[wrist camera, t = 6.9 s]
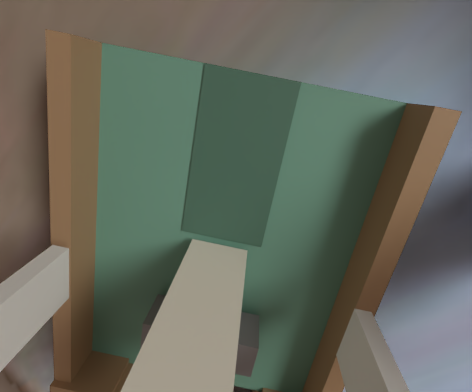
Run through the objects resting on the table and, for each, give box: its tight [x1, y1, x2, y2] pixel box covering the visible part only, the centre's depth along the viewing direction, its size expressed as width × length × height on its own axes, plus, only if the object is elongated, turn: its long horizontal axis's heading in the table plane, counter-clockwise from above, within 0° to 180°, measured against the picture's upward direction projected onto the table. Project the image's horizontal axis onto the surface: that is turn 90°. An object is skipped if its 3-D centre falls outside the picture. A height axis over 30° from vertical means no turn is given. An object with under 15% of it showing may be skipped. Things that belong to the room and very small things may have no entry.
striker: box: [121, 239, 259, 392], centre depth 12 cm, size 6×6×12 cm
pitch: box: [46, 29, 461, 392], centre depth 17 cm, size 24×16×4 cm, turn 169°
